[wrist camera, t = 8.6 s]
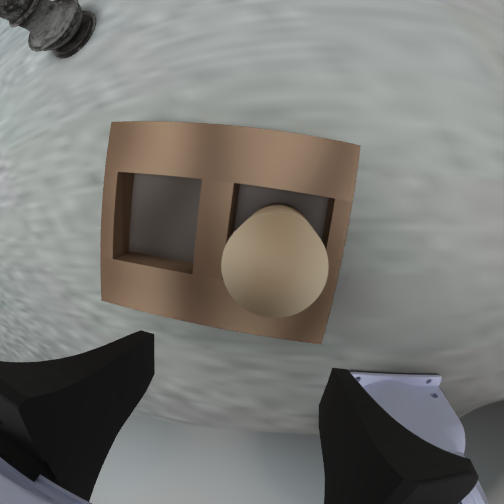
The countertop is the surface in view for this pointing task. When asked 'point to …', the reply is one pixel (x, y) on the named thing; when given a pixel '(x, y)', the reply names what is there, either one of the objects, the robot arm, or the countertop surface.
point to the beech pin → (275, 262)
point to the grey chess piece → (51, 24)
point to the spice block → (214, 216)
